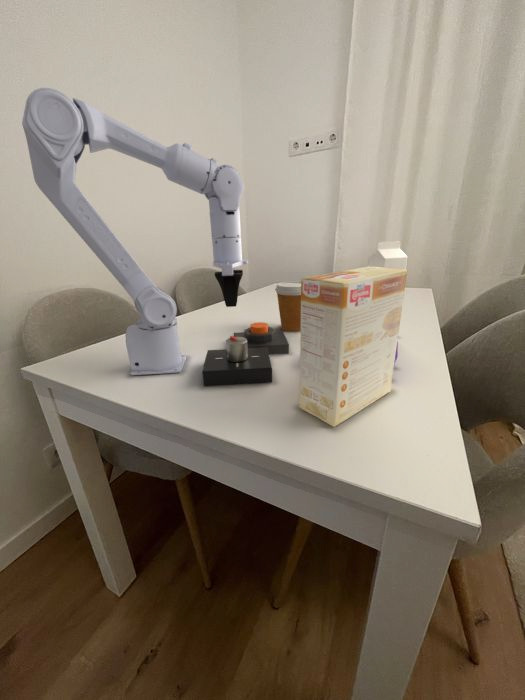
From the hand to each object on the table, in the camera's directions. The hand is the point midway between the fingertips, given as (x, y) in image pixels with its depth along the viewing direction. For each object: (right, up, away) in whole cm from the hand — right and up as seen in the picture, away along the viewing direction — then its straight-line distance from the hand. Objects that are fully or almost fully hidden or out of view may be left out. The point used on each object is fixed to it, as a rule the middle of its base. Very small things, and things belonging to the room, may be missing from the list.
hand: (231, 305), depth 64 cm
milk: (+36, -6, +12) cm, 38 cm away
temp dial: (+2, -11, -8) cm, 13 cm away
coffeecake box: (+20, -17, -16) cm, 31 cm away
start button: (+6, -5, +5) cm, 9 cm away
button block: (+6, -9, +6) cm, 12 cm away
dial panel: (+2, -14, -6) cm, 15 cm away
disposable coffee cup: (+15, -4, +19) cm, 24 cm away
